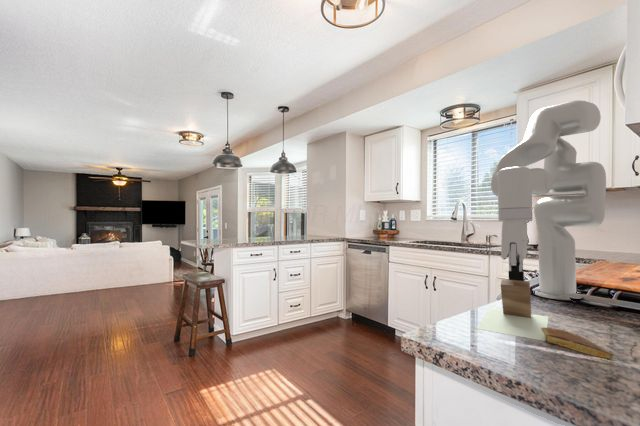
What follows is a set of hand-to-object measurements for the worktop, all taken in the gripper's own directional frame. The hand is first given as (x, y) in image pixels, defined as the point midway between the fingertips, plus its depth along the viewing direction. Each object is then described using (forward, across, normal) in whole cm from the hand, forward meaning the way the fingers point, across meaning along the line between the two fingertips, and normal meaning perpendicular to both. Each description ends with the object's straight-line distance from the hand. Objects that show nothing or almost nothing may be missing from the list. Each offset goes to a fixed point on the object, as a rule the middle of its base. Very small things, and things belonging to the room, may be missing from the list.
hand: (516, 286), depth 83 cm
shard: (+8, +15, +12) cm, 20 cm away
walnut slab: (+7, 0, 0) cm, 7 cm away
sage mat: (+8, +7, 0) cm, 10 cm away
